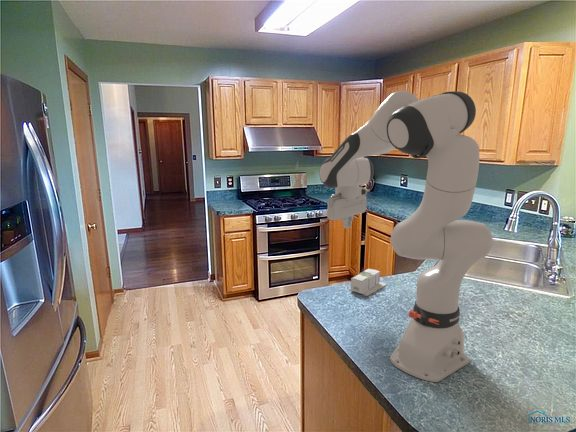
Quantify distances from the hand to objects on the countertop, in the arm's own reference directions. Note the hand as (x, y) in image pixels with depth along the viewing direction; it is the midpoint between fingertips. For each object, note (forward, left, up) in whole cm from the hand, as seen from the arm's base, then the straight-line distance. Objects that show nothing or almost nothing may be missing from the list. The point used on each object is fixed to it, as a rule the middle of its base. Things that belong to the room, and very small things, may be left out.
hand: (347, 227), depth 132 cm
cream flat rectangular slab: (+14, 0, -29) cm, 32 cm away
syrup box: (+5, 0, -26) cm, 26 cm away
